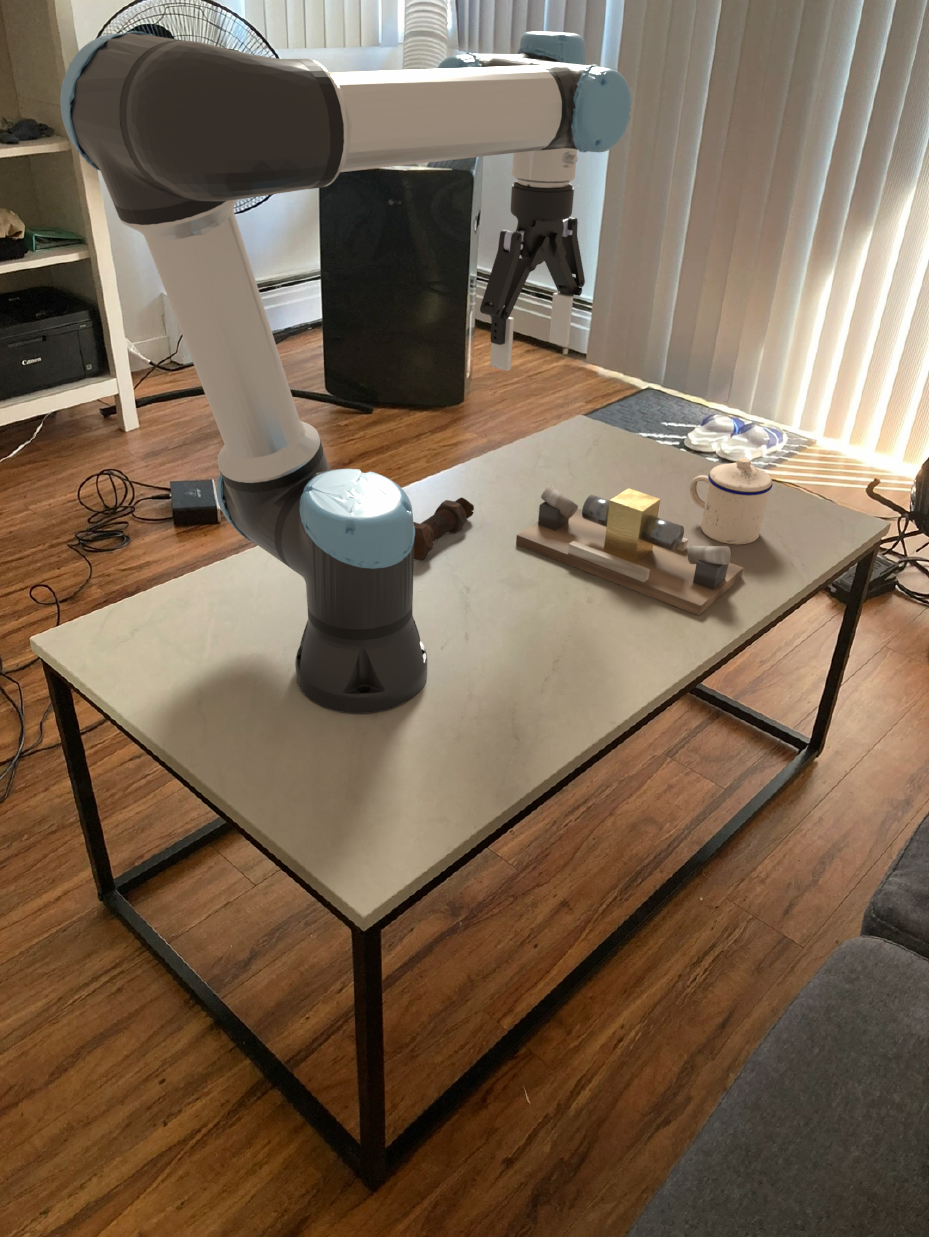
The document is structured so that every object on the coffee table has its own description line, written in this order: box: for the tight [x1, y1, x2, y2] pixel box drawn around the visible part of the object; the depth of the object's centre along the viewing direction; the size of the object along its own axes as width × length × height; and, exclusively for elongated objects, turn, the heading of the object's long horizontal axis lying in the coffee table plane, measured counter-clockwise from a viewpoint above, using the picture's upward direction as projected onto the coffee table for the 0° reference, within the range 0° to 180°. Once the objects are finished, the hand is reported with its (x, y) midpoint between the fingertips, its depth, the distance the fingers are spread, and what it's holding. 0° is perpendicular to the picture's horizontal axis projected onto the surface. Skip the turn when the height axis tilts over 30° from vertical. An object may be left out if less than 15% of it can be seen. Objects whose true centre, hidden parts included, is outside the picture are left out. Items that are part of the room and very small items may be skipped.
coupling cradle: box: [515, 484, 744, 616], centre depth 137 cm, size 13×29×7 cm, turn 52°
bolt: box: [413, 497, 475, 561], centre depth 142 cm, size 6×5×15 cm
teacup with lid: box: [689, 457, 773, 545], centre depth 145 cm, size 12×9×12 cm
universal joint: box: [581, 487, 685, 564], centre depth 136 cm, size 5×14×8 cm, turn 52°
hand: (530, 355), depth 130 cm, fingers open, 13 cm apart
